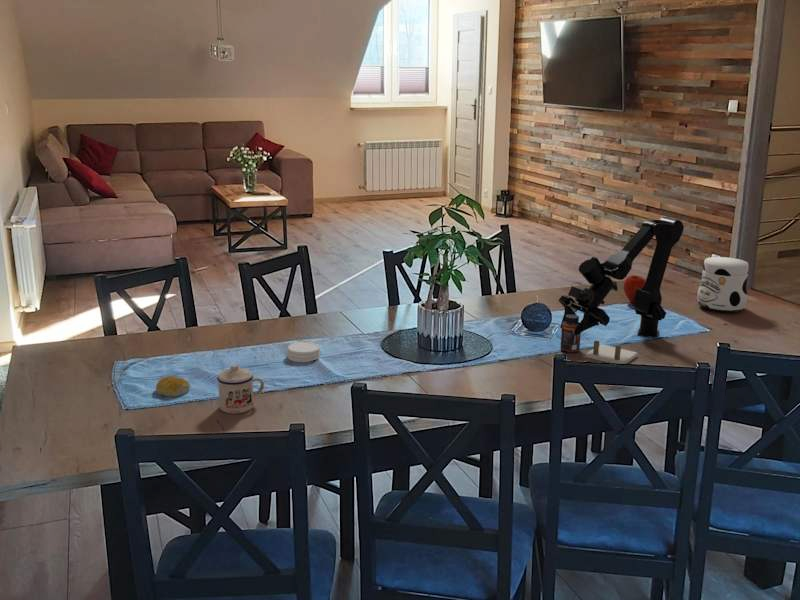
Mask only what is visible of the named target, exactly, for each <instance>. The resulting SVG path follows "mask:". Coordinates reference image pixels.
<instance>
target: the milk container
mask: <svg viewBox="0 0 800 600" xmlns="http://www.w3.org/2000/svg"><path fill="white" fill-rule="evenodd" d="M702 268H703V269H702V273H701V274H702V275H701V281H700V285H699V287H698V289H697V292H696V293H697V294H696V296H697V297H696V300H697V304H698V305H700V306H701V307H702V308H704V309H706V310H709V311H714V312H720V313H737V312H740V311H742V310H743V309H745V307H746V305H747V304H748V303H747V302H748V292H747V291H748V290H747V283H748V278H749V275H748V274H749V271H750V270H749V263H748V261H745V260H743V259H741V258H734V257H726V256H711V257H706V258H704V261H703V266H702Z"/></svg>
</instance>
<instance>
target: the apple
mask: <svg viewBox="0 0 800 600" xmlns="http://www.w3.org/2000/svg"><path fill="white" fill-rule="evenodd" d="M623 282H624V283H623V291H624V294H625V297H626V298H627V299H628V301H629V302H630V303H631V304H633V303H634V301H633V299H634V297H635V293H636V290H637V289H641V288H642V287H643V286H644V285H645V282H646V279H645V278H644V277H642V276H639V275H634V274H633V275H630V276H627V277H626V278H625V280H624V281H623Z"/></svg>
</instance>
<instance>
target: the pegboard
mask: <svg viewBox="0 0 800 600" xmlns="http://www.w3.org/2000/svg"><path fill="white" fill-rule="evenodd" d="M585 357H586V358H589V359H592V360H596V361H601V362H605V363H608V362H611V363H610V364H612V363H626V364H628V363H629V362H631V361H633V360H634V359H635V358H637V357H638V352H635V351H632V350H628V349H624V348H622V347H621V346H620V345H615V347H614V346H611V345H606V344H600V341H599V340H594V341H593V349H591V350H589V351H587V352H586V353H585Z"/></svg>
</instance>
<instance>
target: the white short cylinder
mask: <svg viewBox="0 0 800 600" xmlns="http://www.w3.org/2000/svg"><path fill="white" fill-rule="evenodd" d="M286 348H287V349H286V351H287V353H286V354H287V355H286V356H287V357H286V358H287V359H288V360H289V361H291V362H293V363H294V362H295V363H310V361H312V362H314V361H313V360H315V361H317V360H319V359H320V357H321V354H320V353H321V346H320V345H319V344H317V343H315V342H311V341H298V342H294V343H290V345H288V346H287V347H286ZM316 359H317V360H316Z"/></svg>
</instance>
